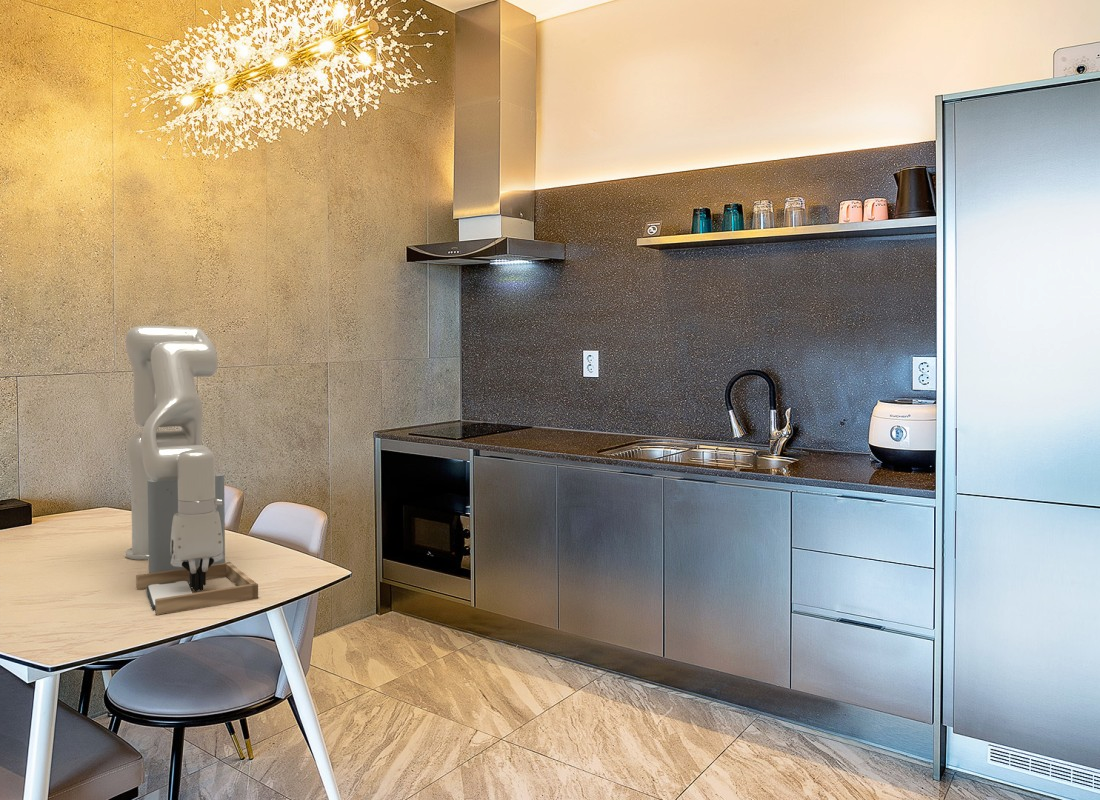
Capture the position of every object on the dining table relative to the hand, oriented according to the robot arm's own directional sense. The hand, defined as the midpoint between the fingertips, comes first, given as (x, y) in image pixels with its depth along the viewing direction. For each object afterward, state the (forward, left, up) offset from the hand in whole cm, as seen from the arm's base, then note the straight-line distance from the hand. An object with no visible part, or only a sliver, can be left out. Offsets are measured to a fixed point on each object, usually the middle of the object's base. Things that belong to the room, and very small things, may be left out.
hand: (197, 589), depth 181 cm
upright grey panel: (-21, +3, -1) cm, 21 cm away
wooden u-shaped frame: (0, 0, -1) cm, 1 cm away
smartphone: (0, -5, -2) cm, 6 cm away
